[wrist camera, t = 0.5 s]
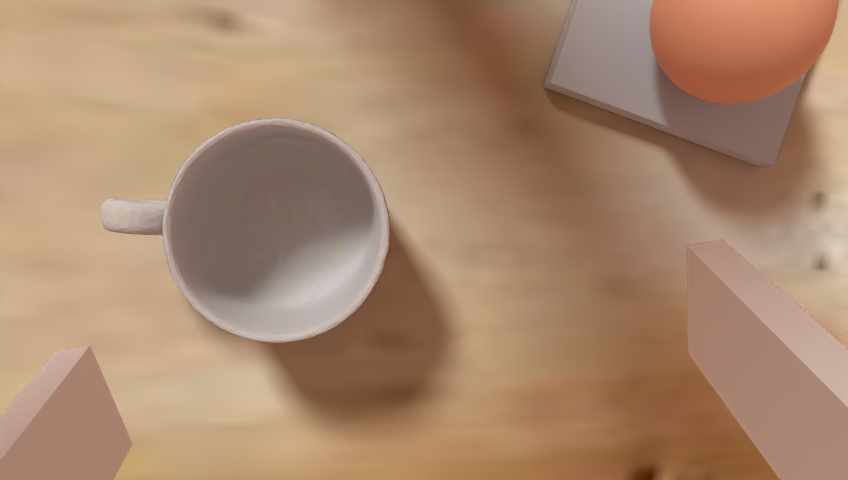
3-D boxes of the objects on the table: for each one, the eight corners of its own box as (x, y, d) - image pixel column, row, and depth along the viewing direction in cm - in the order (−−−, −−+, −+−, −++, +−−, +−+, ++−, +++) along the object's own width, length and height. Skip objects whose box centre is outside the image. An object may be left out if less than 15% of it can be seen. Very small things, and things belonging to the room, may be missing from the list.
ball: (610, -26, 39) (688, -92, 30) (752, -51, 40) (868, -122, 31) (636, 126, 40) (720, 105, 31) (775, 98, 41) (895, 71, 32)
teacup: (403, 164, 40) (417, 156, 32) (352, 336, 40) (354, 370, 32) (171, 93, 38) (125, 66, 30) (120, 274, 39) (61, 293, 31)
